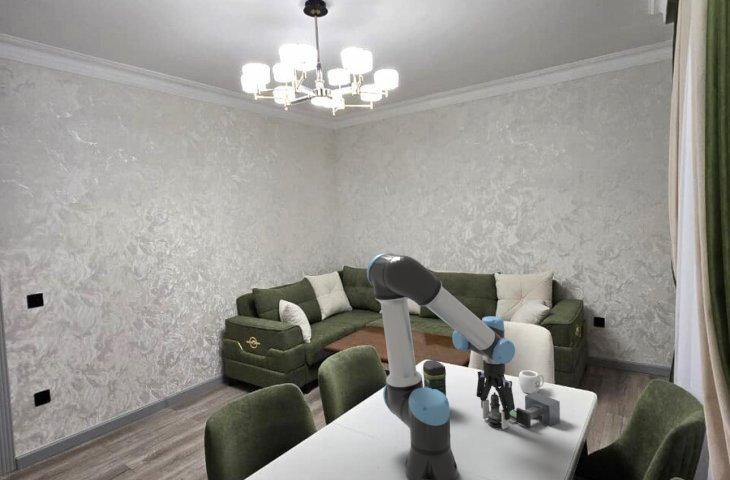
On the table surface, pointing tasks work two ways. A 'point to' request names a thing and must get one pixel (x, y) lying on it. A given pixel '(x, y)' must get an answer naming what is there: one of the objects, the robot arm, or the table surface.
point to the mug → (530, 381)
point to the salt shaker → (494, 412)
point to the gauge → (548, 408)
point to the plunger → (527, 415)
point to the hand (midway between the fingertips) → (495, 422)
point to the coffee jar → (434, 376)
